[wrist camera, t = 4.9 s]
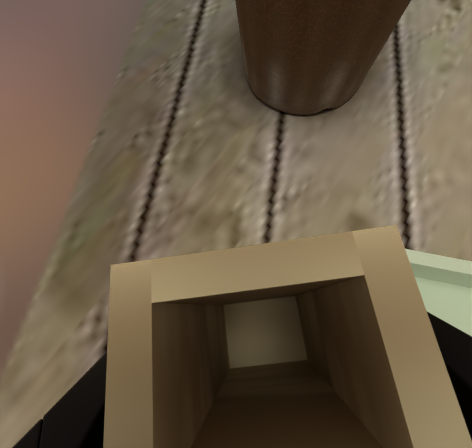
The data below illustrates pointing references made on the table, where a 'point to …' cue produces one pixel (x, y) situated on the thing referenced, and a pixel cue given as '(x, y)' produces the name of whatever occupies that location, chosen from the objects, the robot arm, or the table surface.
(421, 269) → the sage crate
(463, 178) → the table surface
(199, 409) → the pine crate
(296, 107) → the plant pot
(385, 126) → the table surface
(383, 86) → the table surface
